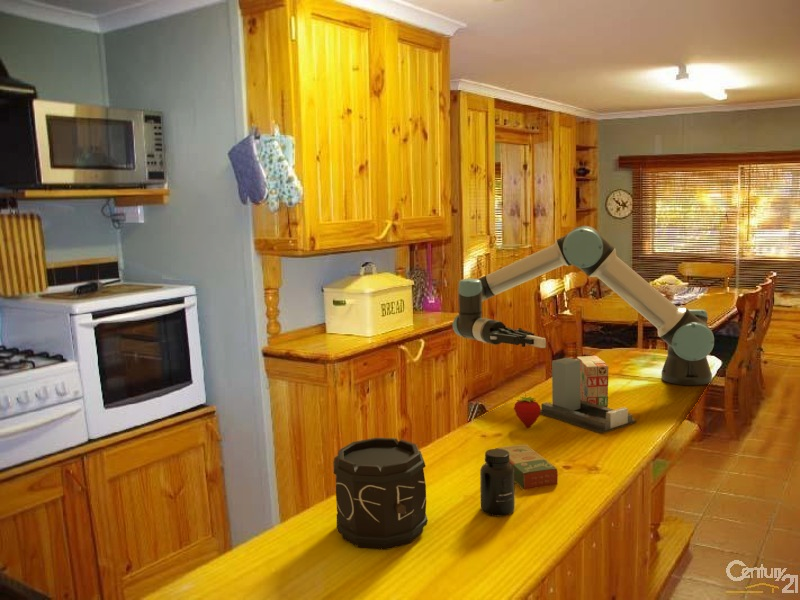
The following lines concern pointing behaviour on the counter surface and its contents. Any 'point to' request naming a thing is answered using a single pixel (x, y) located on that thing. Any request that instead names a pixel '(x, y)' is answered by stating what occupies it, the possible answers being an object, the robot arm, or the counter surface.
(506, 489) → the supplement bottle
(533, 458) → the carton
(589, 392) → the stack of blocks
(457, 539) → the counter surface
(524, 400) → the strawberry
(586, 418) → the chute
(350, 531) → the wooden barrel
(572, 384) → the grey rectangular block
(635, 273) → the robot arm
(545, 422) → the counter surface
